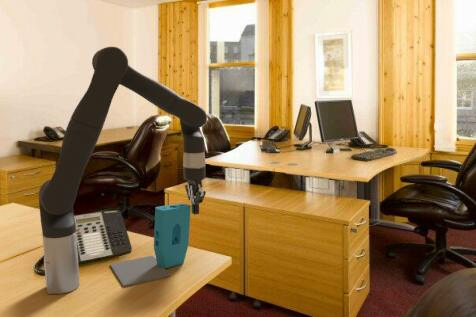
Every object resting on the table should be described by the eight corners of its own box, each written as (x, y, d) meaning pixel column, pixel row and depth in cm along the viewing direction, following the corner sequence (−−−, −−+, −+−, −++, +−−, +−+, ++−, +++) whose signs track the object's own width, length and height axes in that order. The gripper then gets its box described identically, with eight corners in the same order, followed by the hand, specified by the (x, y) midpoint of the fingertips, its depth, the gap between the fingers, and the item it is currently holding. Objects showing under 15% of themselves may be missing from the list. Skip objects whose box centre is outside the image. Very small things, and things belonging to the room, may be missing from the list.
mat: (123, 287, 129) (123, 285, 128) (110, 265, 144) (110, 263, 144) (170, 276, 136) (170, 274, 136) (152, 257, 151) (152, 255, 151)
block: (160, 269, 139) (162, 210, 137) (151, 264, 143) (154, 207, 140) (188, 261, 148) (191, 206, 145) (180, 257, 151) (183, 203, 149)
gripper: (176, 163, 148) (178, 210, 151) (191, 169, 137) (193, 220, 140) (196, 161, 152) (197, 207, 155) (212, 167, 140) (213, 217, 143)
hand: (195, 213), depth 147 cm, fingers closed
